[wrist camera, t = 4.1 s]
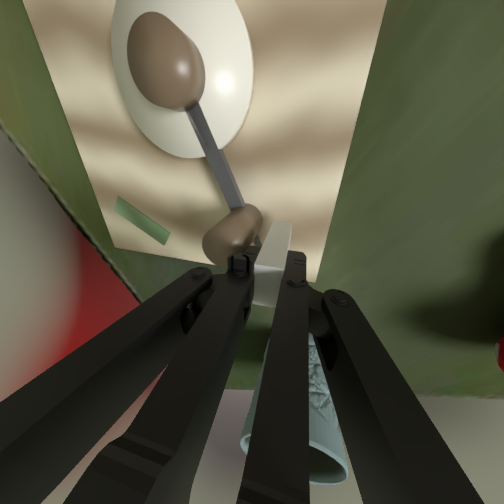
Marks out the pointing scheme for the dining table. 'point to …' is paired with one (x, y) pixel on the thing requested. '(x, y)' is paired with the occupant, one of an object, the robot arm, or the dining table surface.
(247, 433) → the blue cup
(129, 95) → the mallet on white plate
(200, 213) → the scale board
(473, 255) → the dining table surface
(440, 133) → the dining table surface
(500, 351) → the decorative mushroom
